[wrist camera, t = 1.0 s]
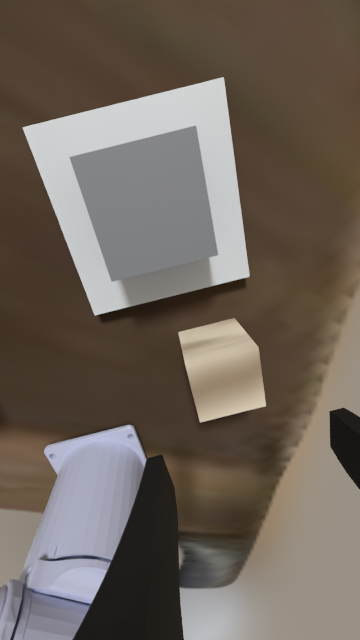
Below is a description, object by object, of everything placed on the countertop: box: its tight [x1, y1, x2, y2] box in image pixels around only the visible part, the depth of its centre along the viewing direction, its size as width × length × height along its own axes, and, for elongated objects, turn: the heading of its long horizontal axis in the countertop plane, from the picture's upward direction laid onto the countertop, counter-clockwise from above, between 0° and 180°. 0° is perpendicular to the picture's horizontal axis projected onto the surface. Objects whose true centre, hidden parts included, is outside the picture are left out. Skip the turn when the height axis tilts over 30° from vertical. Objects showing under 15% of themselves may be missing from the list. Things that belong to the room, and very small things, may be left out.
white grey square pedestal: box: [23, 77, 250, 315], centre depth 15 cm, size 11×11×4 cm
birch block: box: [178, 318, 266, 422], centre depth 19 cm, size 4×4×5 cm
